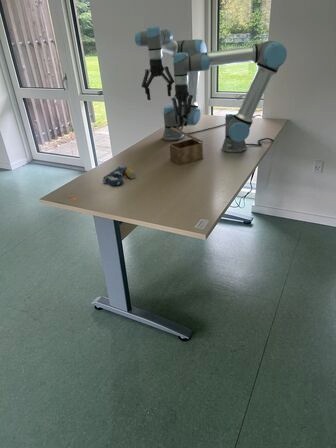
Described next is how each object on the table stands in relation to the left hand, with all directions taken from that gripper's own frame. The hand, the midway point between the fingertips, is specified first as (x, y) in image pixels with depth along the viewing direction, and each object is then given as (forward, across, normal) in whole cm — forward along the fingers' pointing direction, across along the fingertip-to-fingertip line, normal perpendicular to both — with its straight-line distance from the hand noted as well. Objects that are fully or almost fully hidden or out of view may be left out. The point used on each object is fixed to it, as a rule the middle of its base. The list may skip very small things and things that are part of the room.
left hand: (159, 98), depth 199 cm
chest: (+36, +8, -14) cm, 40 cm away
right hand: (+15, +7, -14) cm, 22 cm away
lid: (+21, +9, -14) cm, 27 cm away
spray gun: (+36, -37, -19) cm, 55 cm away
